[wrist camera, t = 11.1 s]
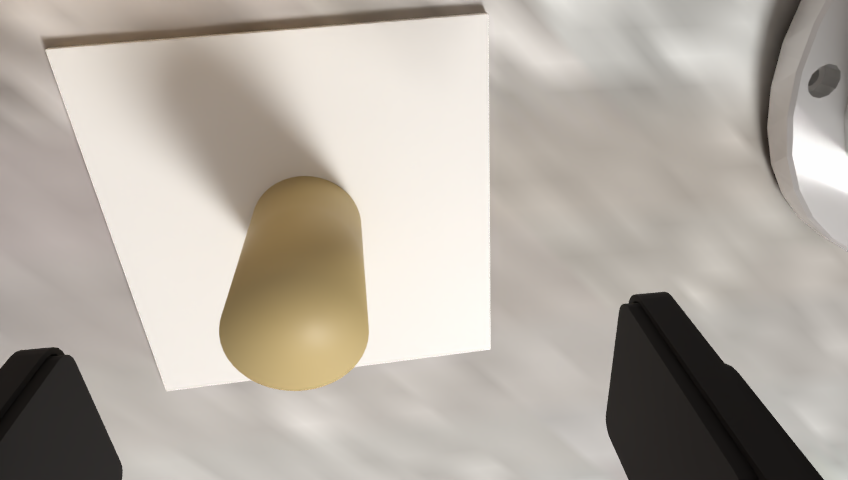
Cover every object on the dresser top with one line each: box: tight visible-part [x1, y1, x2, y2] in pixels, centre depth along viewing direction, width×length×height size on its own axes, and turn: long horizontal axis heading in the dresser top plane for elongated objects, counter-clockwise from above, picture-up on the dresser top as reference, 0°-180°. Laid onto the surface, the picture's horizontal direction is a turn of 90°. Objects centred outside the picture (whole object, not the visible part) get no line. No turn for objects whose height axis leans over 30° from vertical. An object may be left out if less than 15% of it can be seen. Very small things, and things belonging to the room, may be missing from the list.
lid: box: [45, 13, 491, 391], centre depth 14 cm, size 10×10×6 cm
